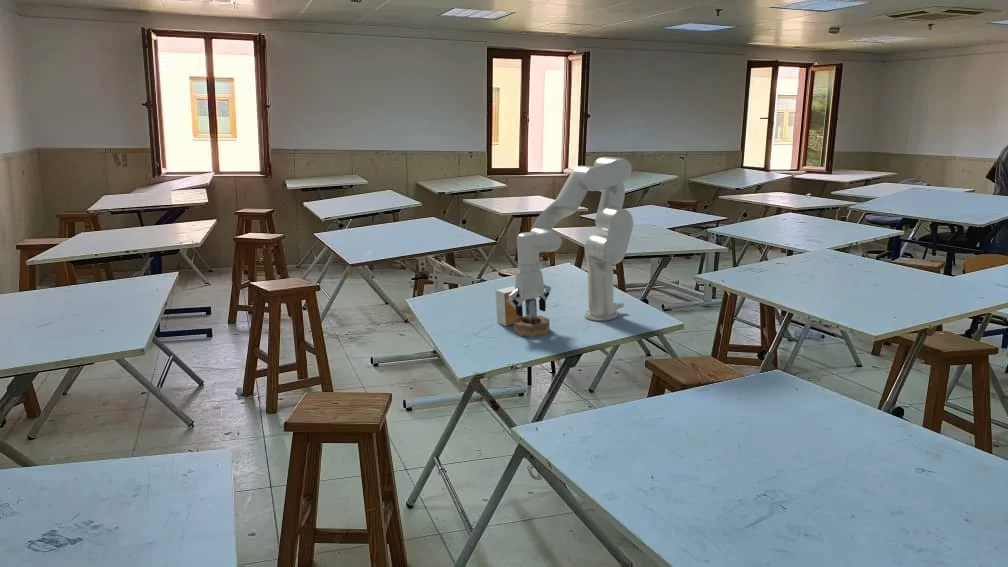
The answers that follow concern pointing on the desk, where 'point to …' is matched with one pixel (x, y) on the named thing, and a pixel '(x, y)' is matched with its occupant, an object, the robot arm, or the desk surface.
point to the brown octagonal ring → (531, 327)
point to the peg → (531, 311)
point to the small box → (505, 307)
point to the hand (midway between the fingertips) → (531, 313)
